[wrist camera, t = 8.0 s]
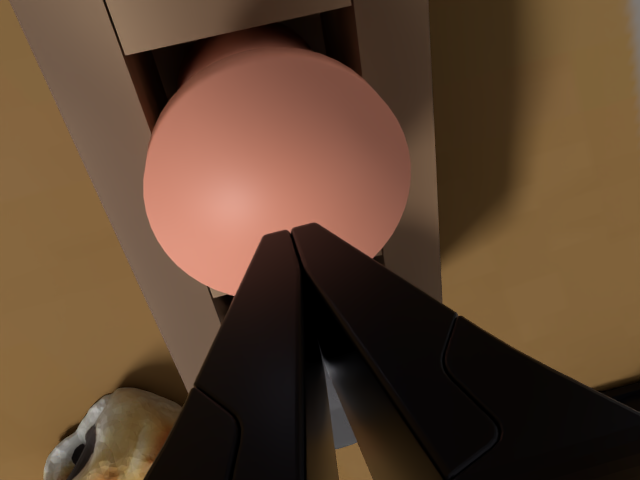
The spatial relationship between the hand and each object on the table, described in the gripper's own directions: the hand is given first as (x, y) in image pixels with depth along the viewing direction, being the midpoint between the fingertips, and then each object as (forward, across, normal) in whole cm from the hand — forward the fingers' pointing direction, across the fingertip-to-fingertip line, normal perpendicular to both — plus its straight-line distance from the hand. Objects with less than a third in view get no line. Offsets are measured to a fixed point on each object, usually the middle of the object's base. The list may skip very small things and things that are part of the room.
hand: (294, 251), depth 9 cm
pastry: (+10, +8, +16) cm, 21 cm away
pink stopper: (+8, 0, 0) cm, 8 cm away
